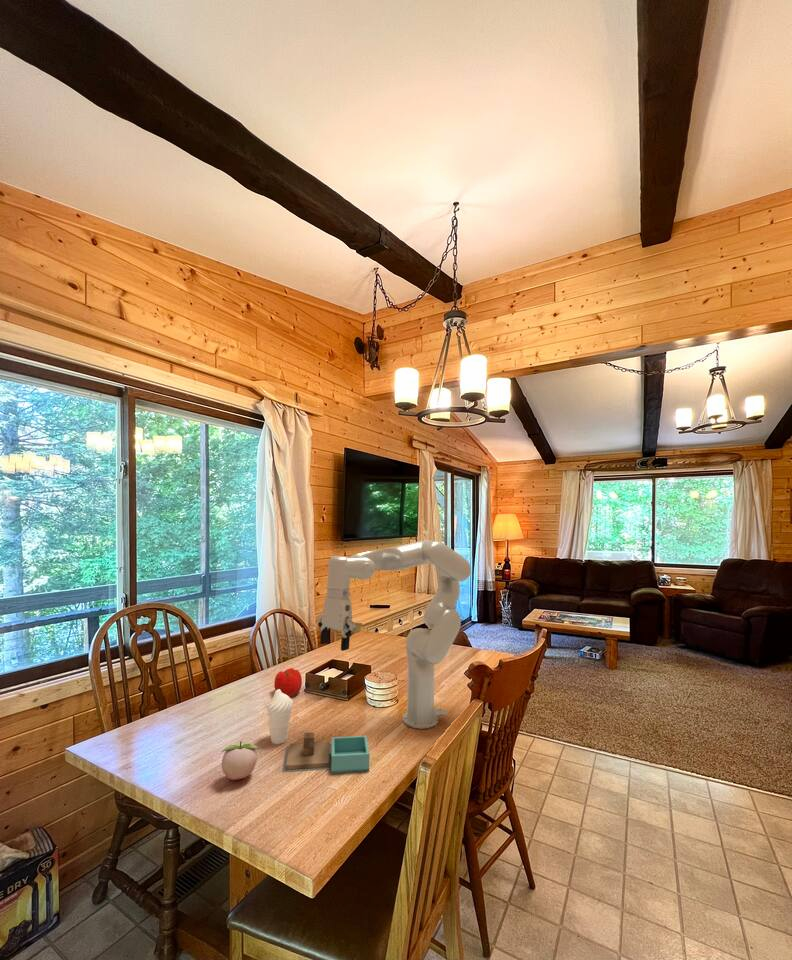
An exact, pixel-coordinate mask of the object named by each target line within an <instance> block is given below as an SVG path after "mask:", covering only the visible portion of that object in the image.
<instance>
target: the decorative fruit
mask: <svg viewBox="0 0 792 960" xmlns="http://www.w3.org/2000/svg"><path fill="white" fill-rule="evenodd" d="M257 750H259V748H258V747H257V745H255V744H253V743H242V741H240V742H239V745H238V744H230V745H229V746H227V747H225V748H224V749H223V750H222V751H221V753H223V752H224V754H223V756H222V759H221V769H222V773H223V775H225V776H226V778H228V779H229V780H232V781H240V780H242V779H245V778H247V777H249V775H250V774H251V773H252V772H253V770H254V769H255V767H256V764H257V761H258V754H257Z"/></svg>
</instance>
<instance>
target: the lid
mask: <svg viewBox="0 0 792 960" xmlns="http://www.w3.org/2000/svg"><path fill="white" fill-rule="evenodd" d="M329 744H330V741H315V732H304V733H303V742H297V743H296V742H295V743H289V745H288V746H289V751H288V757H287V762H286V770H294V769H309V768H325V767H329Z"/></svg>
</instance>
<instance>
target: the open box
mask: <svg viewBox="0 0 792 960" xmlns="http://www.w3.org/2000/svg"><path fill="white" fill-rule="evenodd" d="M331 744H332V746H331V769H330V771H331V772H330V774H331V775H336V774H347V773H348V774H349V773H350V774H351V773H364V772H370V749H369V743H368V736H367V735H353V736H351V735H349V736H338V737H337V736H335V737H331Z"/></svg>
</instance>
